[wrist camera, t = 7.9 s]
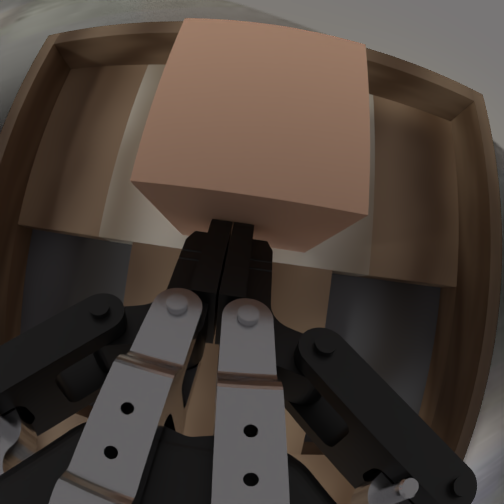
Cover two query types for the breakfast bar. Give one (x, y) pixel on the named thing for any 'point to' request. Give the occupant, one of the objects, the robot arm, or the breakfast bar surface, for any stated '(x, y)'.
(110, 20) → the breakfast bar surface
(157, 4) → the breakfast bar surface
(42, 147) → the box
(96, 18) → the breakfast bar surface
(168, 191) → the block
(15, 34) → the breakfast bar surface
